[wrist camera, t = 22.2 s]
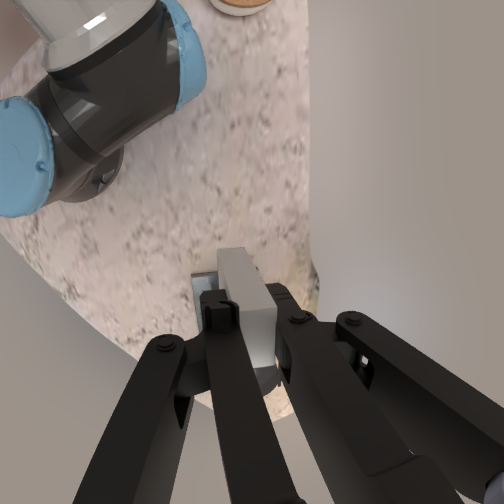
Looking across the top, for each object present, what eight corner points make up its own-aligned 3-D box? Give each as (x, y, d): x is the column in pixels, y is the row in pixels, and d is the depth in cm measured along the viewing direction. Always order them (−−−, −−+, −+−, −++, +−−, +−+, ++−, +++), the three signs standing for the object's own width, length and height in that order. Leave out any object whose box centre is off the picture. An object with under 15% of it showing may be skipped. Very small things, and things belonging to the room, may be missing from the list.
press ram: (219, 367, 37) (225, 403, 31) (214, 328, 35) (219, 363, 29) (266, 360, 38) (279, 394, 32) (265, 321, 36) (279, 354, 30)
